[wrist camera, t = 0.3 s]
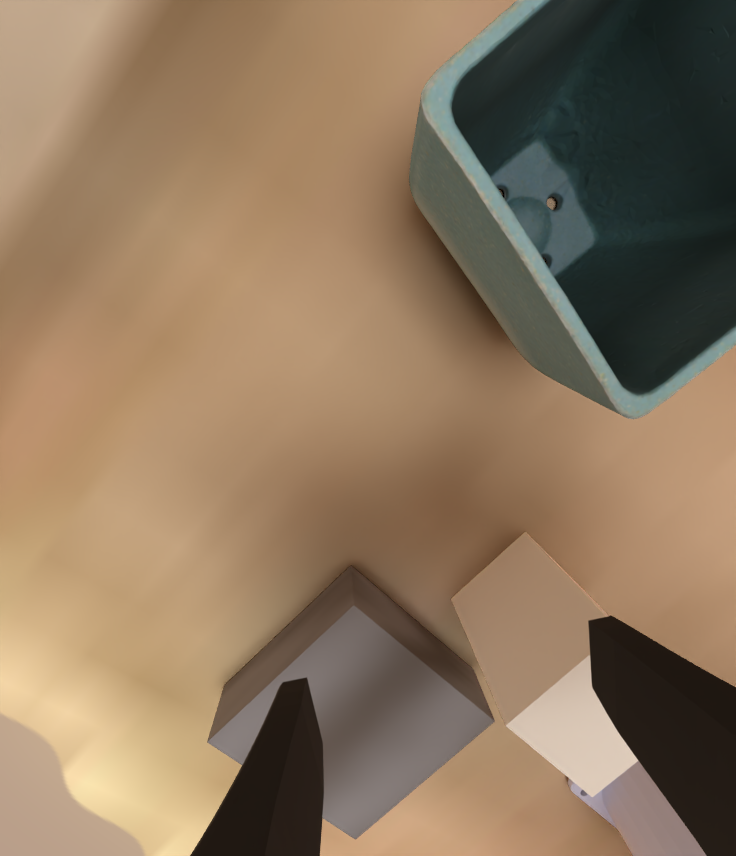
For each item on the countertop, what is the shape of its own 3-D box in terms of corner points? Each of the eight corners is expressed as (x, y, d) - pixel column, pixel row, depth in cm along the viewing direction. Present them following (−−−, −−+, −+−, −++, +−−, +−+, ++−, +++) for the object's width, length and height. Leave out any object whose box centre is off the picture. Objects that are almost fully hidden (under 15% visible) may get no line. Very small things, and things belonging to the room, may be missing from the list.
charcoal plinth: (473, 669, 22) (494, 721, 19) (352, 775, 23) (355, 839, 20) (350, 565, 20) (354, 605, 17) (224, 685, 21) (207, 742, 18)
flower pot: (660, 250, 18) (961, 179, 9) (495, 382, 19) (633, 430, 10) (549, 56, 16) (803, -260, 7) (370, 213, 17) (409, 92, 8)
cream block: (586, 591, 22) (700, 711, 15) (513, 654, 22) (592, 797, 16) (525, 531, 21) (618, 630, 14) (450, 598, 21) (505, 725, 15)
